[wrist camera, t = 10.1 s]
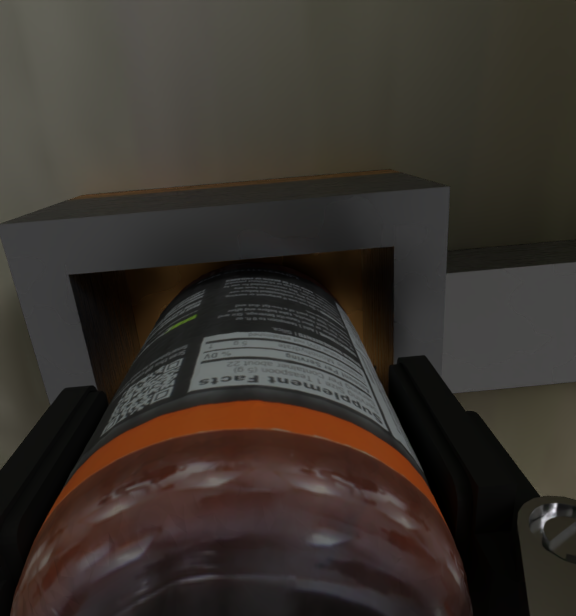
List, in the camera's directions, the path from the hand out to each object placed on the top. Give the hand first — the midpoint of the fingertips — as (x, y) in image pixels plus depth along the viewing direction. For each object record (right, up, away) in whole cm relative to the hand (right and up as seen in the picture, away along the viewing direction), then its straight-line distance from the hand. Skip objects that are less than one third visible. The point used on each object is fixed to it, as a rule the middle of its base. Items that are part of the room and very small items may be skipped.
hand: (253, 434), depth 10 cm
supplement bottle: (0, +1, +4) cm, 4 cm away
